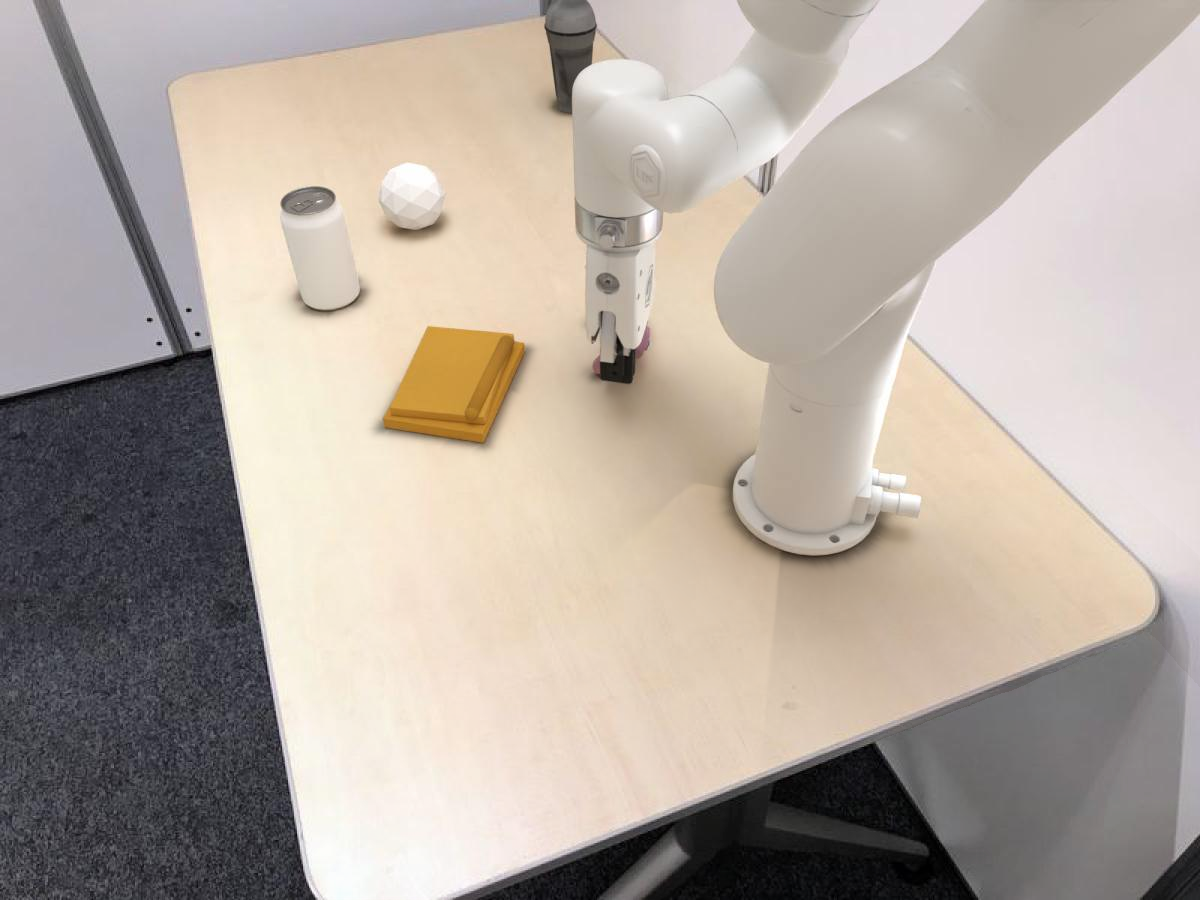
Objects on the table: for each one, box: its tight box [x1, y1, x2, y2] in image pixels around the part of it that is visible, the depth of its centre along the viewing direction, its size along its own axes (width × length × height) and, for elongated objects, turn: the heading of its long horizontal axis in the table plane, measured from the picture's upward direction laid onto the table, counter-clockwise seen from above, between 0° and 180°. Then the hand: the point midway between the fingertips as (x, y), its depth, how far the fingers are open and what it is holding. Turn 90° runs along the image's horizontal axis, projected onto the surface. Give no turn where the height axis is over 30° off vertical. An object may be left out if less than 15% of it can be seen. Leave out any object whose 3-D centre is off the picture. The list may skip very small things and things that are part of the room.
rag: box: [382, 325, 526, 444], centre depth 96 cm, size 10×14×3 cm
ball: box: [377, 162, 446, 231], centre depth 116 cm, size 8×8×8 cm
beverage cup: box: [543, 0, 598, 114], centre depth 134 cm, size 7×7×20 cm
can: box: [279, 185, 361, 312], centre depth 104 cm, size 6×6×12 cm
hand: (617, 376), depth 95 cm, fingers closed
